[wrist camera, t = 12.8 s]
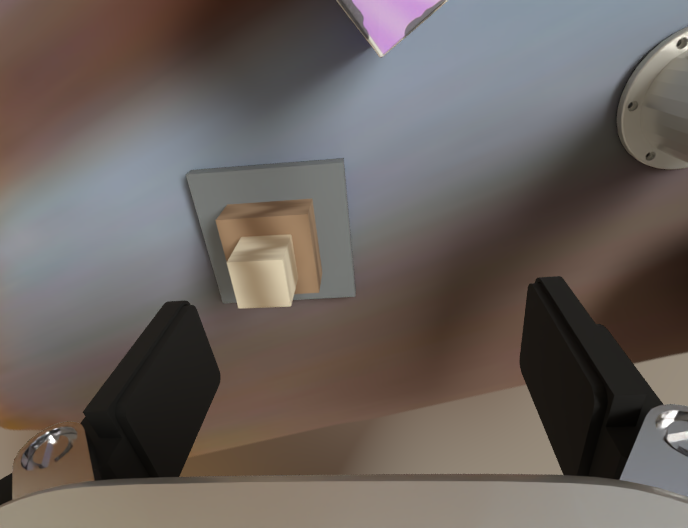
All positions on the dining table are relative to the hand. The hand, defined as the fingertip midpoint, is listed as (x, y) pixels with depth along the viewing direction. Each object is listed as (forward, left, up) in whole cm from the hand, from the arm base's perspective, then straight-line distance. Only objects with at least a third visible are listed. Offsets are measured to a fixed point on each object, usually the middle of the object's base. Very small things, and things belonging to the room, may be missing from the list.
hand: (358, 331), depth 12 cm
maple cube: (+10, +12, -27) cm, 31 cm away
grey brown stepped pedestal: (+10, +12, -32) cm, 36 cm away
